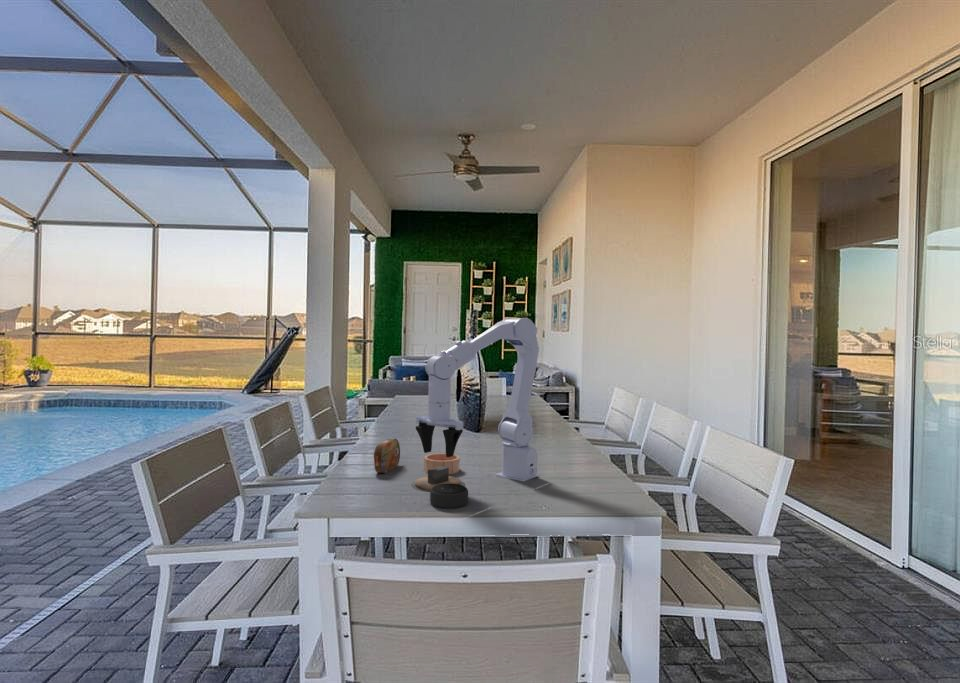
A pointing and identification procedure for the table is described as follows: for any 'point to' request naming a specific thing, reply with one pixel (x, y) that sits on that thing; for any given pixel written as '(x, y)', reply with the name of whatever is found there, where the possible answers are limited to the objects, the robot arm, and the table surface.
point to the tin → (386, 455)
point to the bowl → (442, 462)
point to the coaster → (427, 490)
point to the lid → (436, 478)
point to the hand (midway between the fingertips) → (438, 454)
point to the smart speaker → (449, 496)
